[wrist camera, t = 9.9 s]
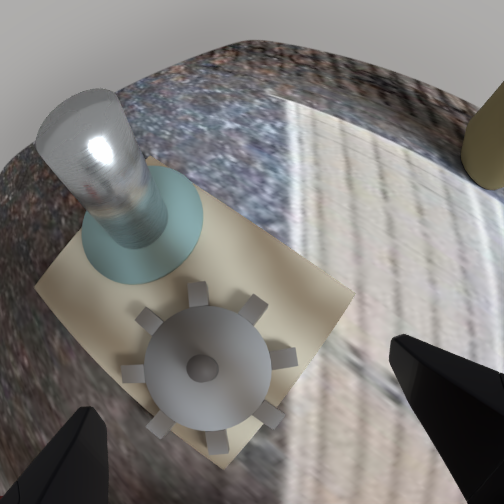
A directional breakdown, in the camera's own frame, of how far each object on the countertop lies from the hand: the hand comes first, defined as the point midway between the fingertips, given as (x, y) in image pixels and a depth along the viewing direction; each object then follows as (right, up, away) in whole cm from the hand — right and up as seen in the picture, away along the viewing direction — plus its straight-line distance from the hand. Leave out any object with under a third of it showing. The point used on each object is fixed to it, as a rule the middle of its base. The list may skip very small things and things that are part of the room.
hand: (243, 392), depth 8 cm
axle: (-8, +6, +15) cm, 18 cm away
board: (-5, +1, +14) cm, 15 cm away
